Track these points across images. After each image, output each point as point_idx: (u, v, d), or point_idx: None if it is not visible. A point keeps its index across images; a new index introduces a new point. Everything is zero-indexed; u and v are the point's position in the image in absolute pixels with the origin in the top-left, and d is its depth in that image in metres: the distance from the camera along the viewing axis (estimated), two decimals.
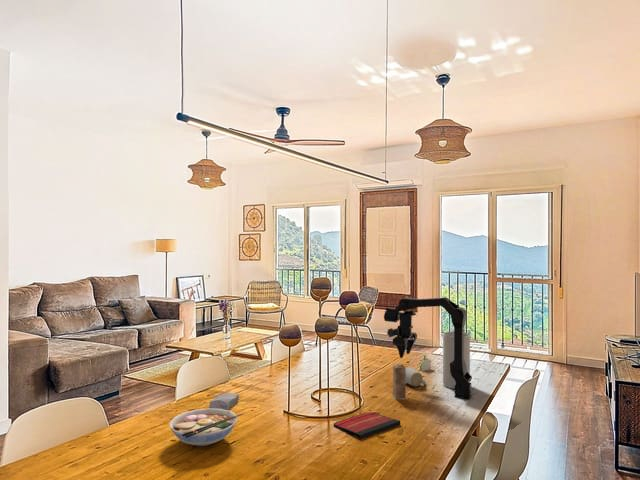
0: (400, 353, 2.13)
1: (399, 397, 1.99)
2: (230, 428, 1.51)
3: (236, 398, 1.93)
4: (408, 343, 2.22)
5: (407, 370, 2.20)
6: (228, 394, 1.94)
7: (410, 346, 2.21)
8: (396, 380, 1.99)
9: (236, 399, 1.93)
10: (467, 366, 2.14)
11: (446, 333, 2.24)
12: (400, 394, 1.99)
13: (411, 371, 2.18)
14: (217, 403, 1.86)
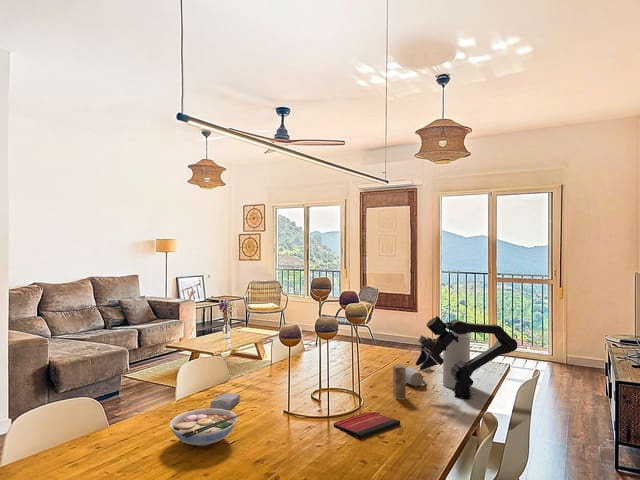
0: (424, 365, 1.98)
1: (399, 397, 1.99)
2: (230, 428, 1.51)
3: (237, 398, 1.93)
4: (423, 356, 2.06)
5: (408, 370, 2.20)
6: (229, 394, 1.94)
7: (423, 360, 2.06)
8: (396, 380, 1.99)
9: (237, 399, 1.93)
10: None
11: None
12: (400, 394, 1.99)
13: (412, 371, 2.18)
14: (218, 403, 1.86)
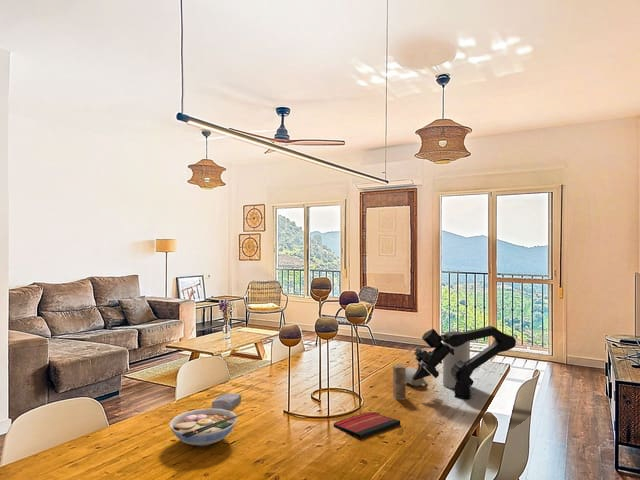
0: (417, 376, 2.01)
1: (399, 397, 1.99)
2: (230, 428, 1.51)
3: (238, 398, 1.92)
4: None
5: (408, 370, 2.20)
6: (230, 394, 1.94)
7: None
8: (396, 380, 1.99)
9: (238, 399, 1.93)
10: None
11: (446, 333, 2.24)
12: (400, 394, 1.99)
13: (412, 371, 2.18)
14: (220, 404, 1.86)
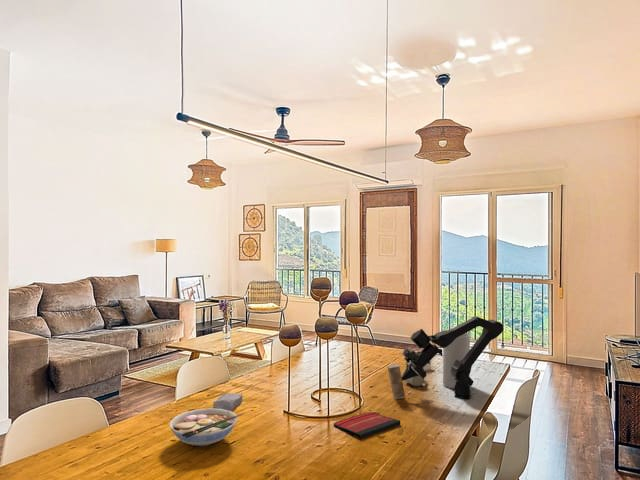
0: (405, 376, 2.00)
1: (399, 396, 1.99)
2: (230, 428, 1.51)
3: (240, 398, 1.92)
4: None
5: None
6: (232, 394, 1.94)
7: None
8: (392, 380, 1.99)
9: (240, 400, 1.92)
10: None
11: None
12: (399, 393, 1.99)
13: None
14: (221, 404, 1.86)
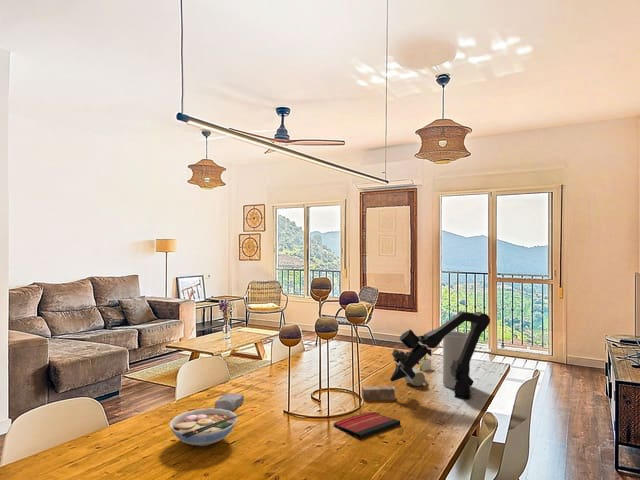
0: (394, 377, 2.00)
1: (393, 395, 1.99)
2: (230, 428, 1.51)
3: (241, 398, 1.92)
4: None
5: None
6: (233, 394, 1.94)
7: None
8: (376, 398, 1.99)
9: (241, 400, 1.92)
10: None
11: None
12: (390, 394, 1.99)
13: (413, 371, 2.19)
14: (223, 404, 1.86)
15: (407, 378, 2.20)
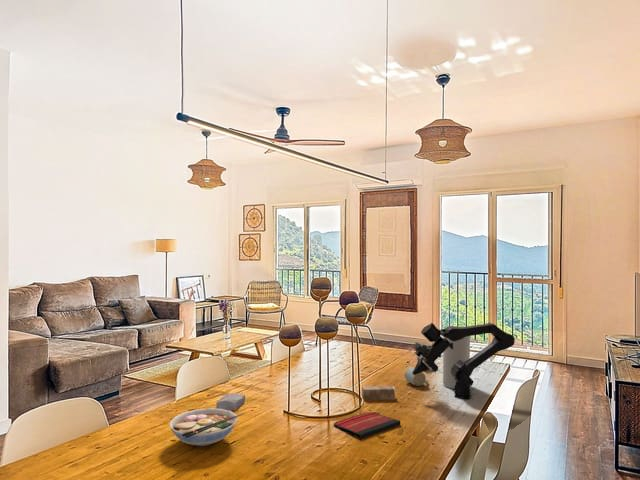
0: (416, 370, 2.01)
1: (393, 395, 1.99)
2: (230, 428, 1.51)
3: (243, 398, 1.92)
4: None
5: (410, 370, 2.21)
6: (234, 395, 1.94)
7: None
8: (376, 398, 1.99)
9: (243, 400, 1.92)
10: None
11: None
12: (390, 394, 1.99)
13: None
14: (224, 404, 1.85)
15: (408, 378, 2.20)
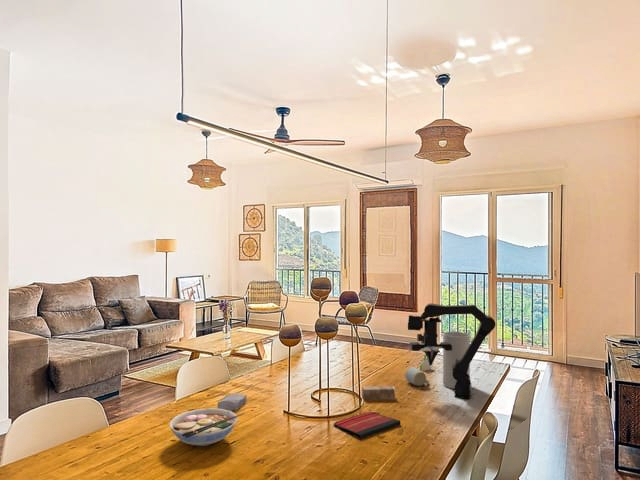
0: (428, 360, 2.07)
1: (393, 395, 1.99)
2: (230, 428, 1.51)
3: (244, 399, 1.92)
4: (431, 354, 2.07)
5: (410, 370, 2.21)
6: (236, 395, 1.94)
7: (431, 357, 2.06)
8: (376, 398, 1.99)
9: (244, 400, 1.92)
10: None
11: (446, 333, 2.24)
12: (390, 394, 1.99)
13: (414, 371, 2.19)
14: (226, 404, 1.85)
15: (408, 378, 2.20)
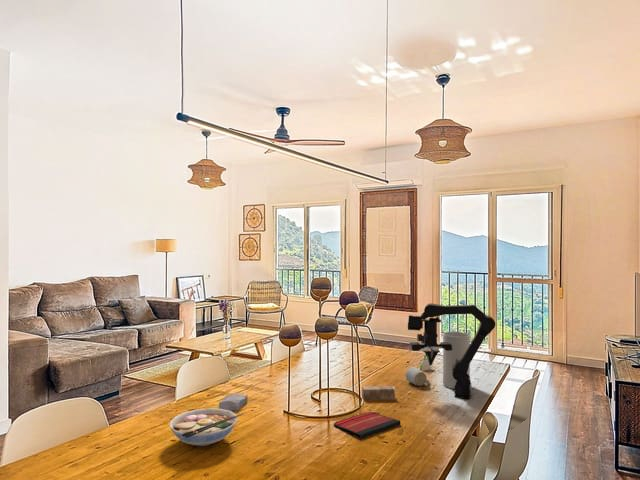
0: (428, 360, 2.07)
1: (393, 395, 1.99)
2: (230, 428, 1.51)
3: (245, 399, 1.92)
4: (431, 354, 2.07)
5: (411, 370, 2.21)
6: (237, 395, 1.94)
7: (431, 357, 2.06)
8: (376, 398, 1.99)
9: (245, 400, 1.92)
10: None
11: (446, 333, 2.24)
12: (390, 394, 1.99)
13: (415, 371, 2.19)
14: (227, 404, 1.85)
15: (409, 378, 2.20)
